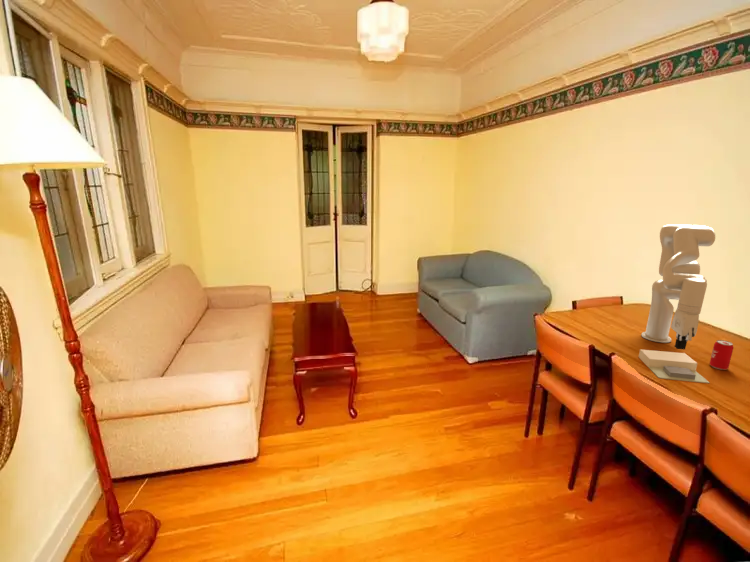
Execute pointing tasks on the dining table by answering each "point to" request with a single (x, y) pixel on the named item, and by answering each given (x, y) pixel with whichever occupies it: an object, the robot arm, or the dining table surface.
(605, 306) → the dining table surface
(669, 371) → the slate coaster
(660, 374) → the mat
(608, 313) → the dining table surface
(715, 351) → the beverage can
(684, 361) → the block
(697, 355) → the dining table surface
